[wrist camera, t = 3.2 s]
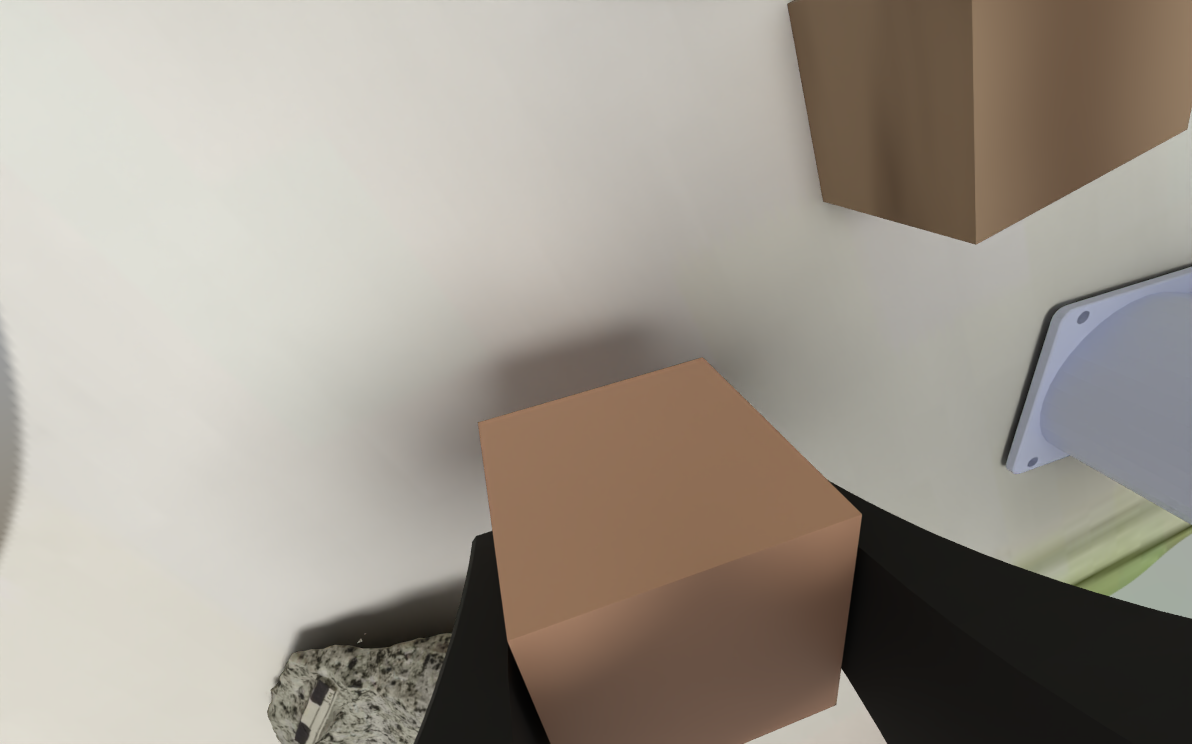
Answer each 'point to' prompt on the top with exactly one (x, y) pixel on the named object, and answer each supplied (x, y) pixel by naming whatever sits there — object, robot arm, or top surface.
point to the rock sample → (357, 693)
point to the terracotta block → (667, 563)
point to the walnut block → (985, 101)
